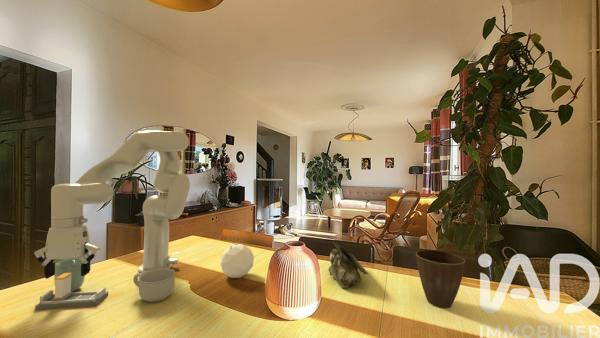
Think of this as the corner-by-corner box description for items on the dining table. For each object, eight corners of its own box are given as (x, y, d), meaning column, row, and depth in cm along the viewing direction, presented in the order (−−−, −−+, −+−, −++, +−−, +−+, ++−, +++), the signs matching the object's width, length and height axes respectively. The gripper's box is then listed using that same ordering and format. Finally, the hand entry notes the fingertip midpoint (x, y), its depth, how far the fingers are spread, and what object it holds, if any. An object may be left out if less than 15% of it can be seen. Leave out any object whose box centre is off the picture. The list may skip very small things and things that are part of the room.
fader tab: (72, 294, 82) (73, 272, 82) (63, 300, 78) (64, 277, 78) (61, 295, 82) (62, 273, 82) (52, 301, 78) (53, 278, 78)
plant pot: (446, 319, 77) (447, 266, 77) (405, 297, 90) (406, 252, 91) (474, 308, 84) (474, 260, 84) (432, 289, 97) (433, 248, 98)
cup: (65, 297, 83) (67, 266, 84) (47, 294, 85) (49, 264, 85) (89, 287, 91) (91, 259, 91) (72, 284, 92) (73, 257, 93)
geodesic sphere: (235, 274, 92) (249, 238, 100) (206, 267, 97) (221, 234, 105) (252, 285, 103) (263, 252, 111) (224, 279, 108) (237, 248, 116)
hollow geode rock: (337, 274, 122) (316, 250, 122) (357, 256, 122) (336, 232, 123) (346, 302, 93) (319, 271, 94) (372, 278, 94) (344, 247, 94)
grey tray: (108, 295, 86) (108, 285, 86) (96, 305, 79) (96, 295, 79) (52, 298, 82) (53, 288, 82) (34, 309, 75) (35, 299, 76)
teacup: (181, 293, 88) (182, 270, 88) (154, 309, 78) (155, 283, 78) (151, 286, 93) (152, 264, 93) (122, 300, 82) (123, 275, 83)
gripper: (104, 219, 86) (105, 268, 86) (44, 220, 83) (45, 272, 83) (91, 224, 79) (91, 278, 79) (25, 226, 75) (25, 283, 76)
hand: (67, 275), depth 81 cm, fingers open, 9 cm apart
